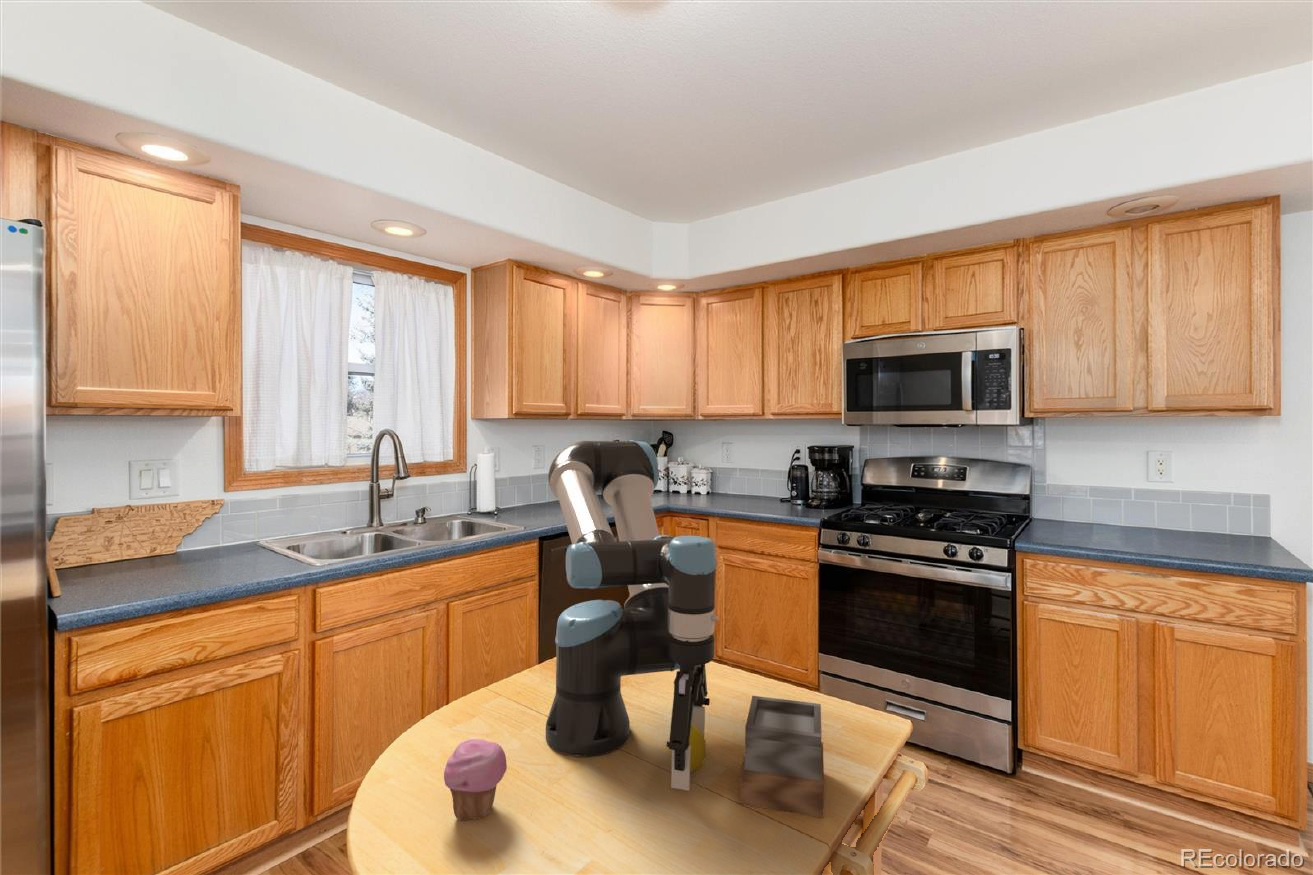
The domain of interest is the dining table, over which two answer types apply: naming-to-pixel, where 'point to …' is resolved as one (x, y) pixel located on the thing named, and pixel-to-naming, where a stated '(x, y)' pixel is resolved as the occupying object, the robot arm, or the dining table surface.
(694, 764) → the lemon
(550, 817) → the dining table surface
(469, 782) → the cupcake
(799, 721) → the grey storage bin
